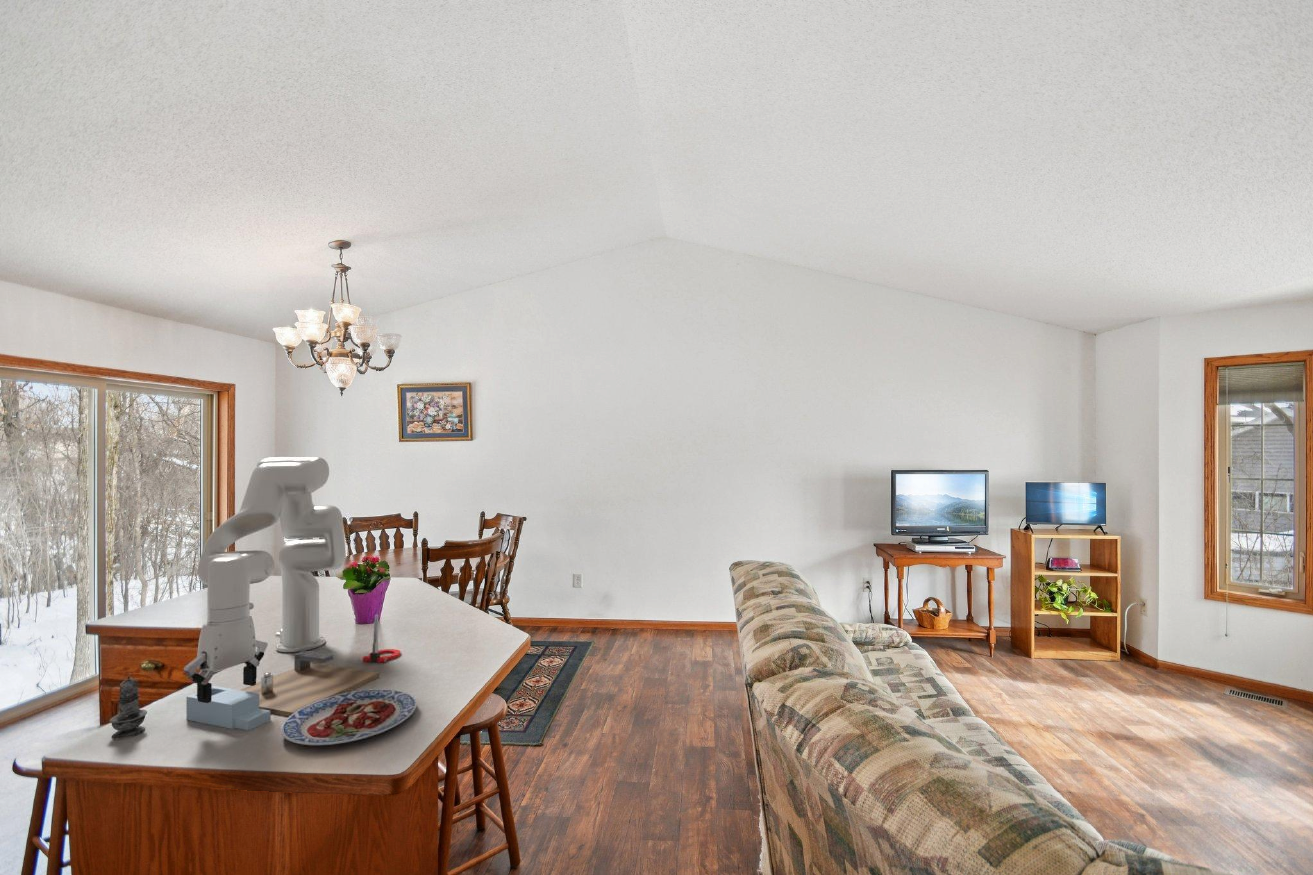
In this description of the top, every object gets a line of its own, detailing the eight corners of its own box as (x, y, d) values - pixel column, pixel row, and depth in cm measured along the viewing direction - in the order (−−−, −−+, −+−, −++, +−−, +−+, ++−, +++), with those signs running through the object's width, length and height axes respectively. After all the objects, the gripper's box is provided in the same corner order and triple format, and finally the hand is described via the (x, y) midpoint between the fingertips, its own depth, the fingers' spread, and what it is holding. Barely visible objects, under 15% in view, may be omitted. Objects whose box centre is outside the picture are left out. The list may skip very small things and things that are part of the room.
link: (272, 718, 129) (272, 695, 129) (245, 731, 123) (245, 707, 123) (214, 707, 135) (214, 685, 135) (186, 719, 129) (186, 696, 129)
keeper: (294, 670, 154) (294, 654, 154) (304, 666, 157) (304, 650, 157) (323, 675, 151) (323, 658, 151) (333, 670, 154) (333, 654, 154)
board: (217, 703, 137) (217, 698, 137) (308, 666, 160) (308, 662, 160) (294, 717, 129) (294, 712, 129) (378, 676, 152) (378, 672, 152)
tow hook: (379, 652, 172) (359, 662, 163) (381, 607, 173) (360, 614, 164) (406, 653, 171) (387, 663, 162) (407, 608, 171) (388, 615, 162)
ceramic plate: (328, 698, 140) (328, 685, 140) (435, 698, 139) (435, 685, 139) (249, 754, 114) (249, 739, 114) (380, 755, 114) (380, 739, 114)
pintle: (258, 694, 140) (258, 674, 140) (268, 690, 142) (268, 670, 142) (266, 695, 139) (266, 675, 139) (275, 691, 141) (275, 672, 141)
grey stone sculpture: (124, 727, 126) (125, 670, 126) (154, 725, 126) (154, 669, 126) (101, 740, 120) (101, 681, 120) (132, 739, 120) (132, 680, 121)
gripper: (254, 603, 139) (253, 677, 138) (173, 623, 122) (172, 707, 122) (278, 605, 136) (277, 680, 136) (198, 625, 120) (197, 711, 119)
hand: (227, 693), depth 129 cm, fingers open, 9 cm apart
